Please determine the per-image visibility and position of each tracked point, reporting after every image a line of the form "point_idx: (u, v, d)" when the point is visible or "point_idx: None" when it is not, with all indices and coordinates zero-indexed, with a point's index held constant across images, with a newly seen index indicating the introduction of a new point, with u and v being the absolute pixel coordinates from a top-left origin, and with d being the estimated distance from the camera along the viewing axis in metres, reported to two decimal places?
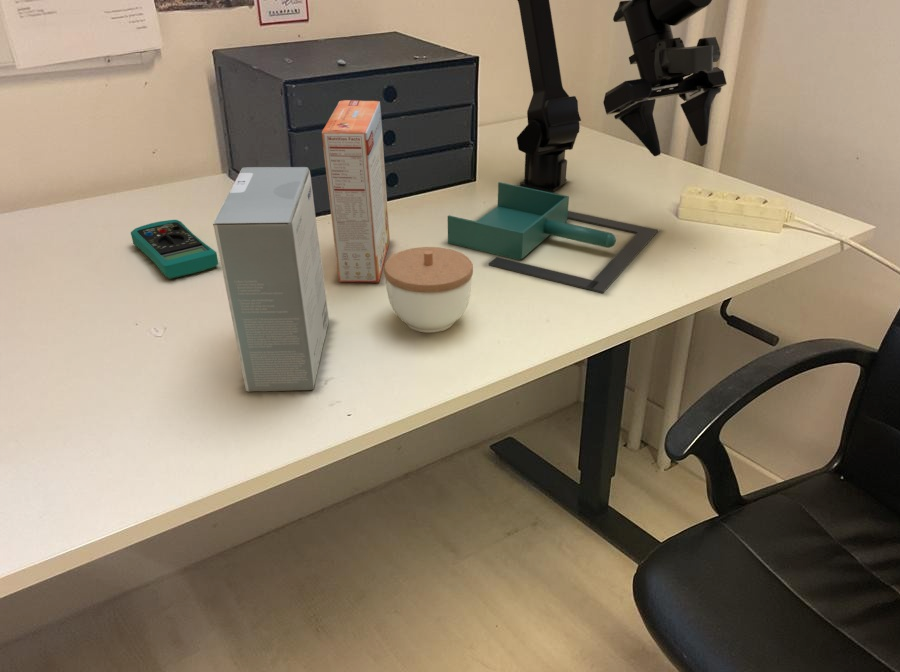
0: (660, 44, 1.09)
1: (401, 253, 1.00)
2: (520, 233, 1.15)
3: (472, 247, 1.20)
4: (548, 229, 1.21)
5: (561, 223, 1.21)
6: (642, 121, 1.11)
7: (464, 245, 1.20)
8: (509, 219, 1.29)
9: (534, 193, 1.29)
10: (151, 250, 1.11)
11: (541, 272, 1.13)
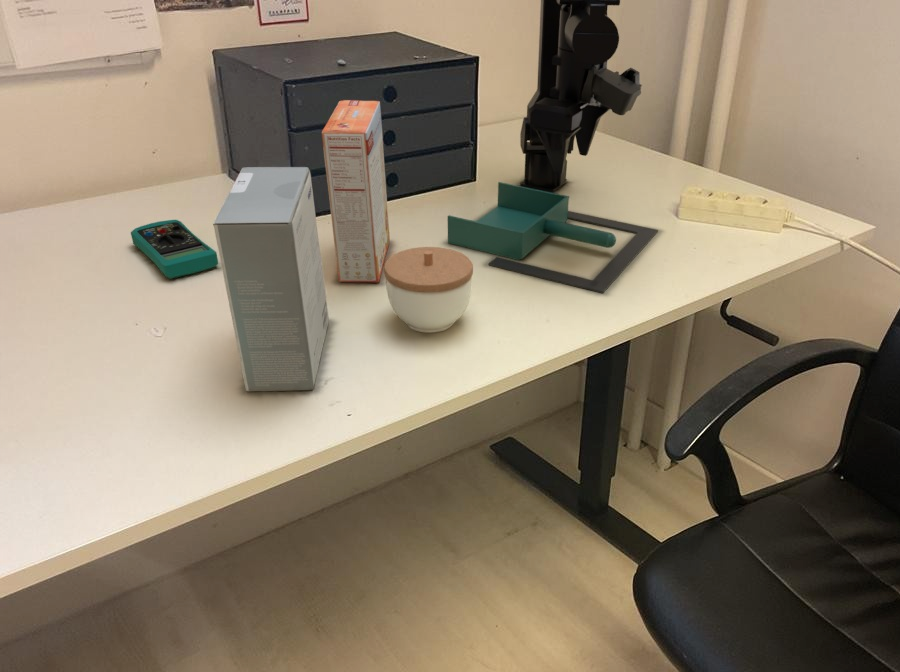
0: (595, 67, 1.05)
1: (401, 253, 1.00)
2: (520, 233, 1.15)
3: (472, 247, 1.20)
4: (548, 229, 1.21)
5: (561, 223, 1.21)
6: (558, 140, 1.08)
7: (464, 245, 1.20)
8: (509, 219, 1.29)
9: (534, 193, 1.29)
10: (151, 250, 1.11)
11: (541, 272, 1.13)
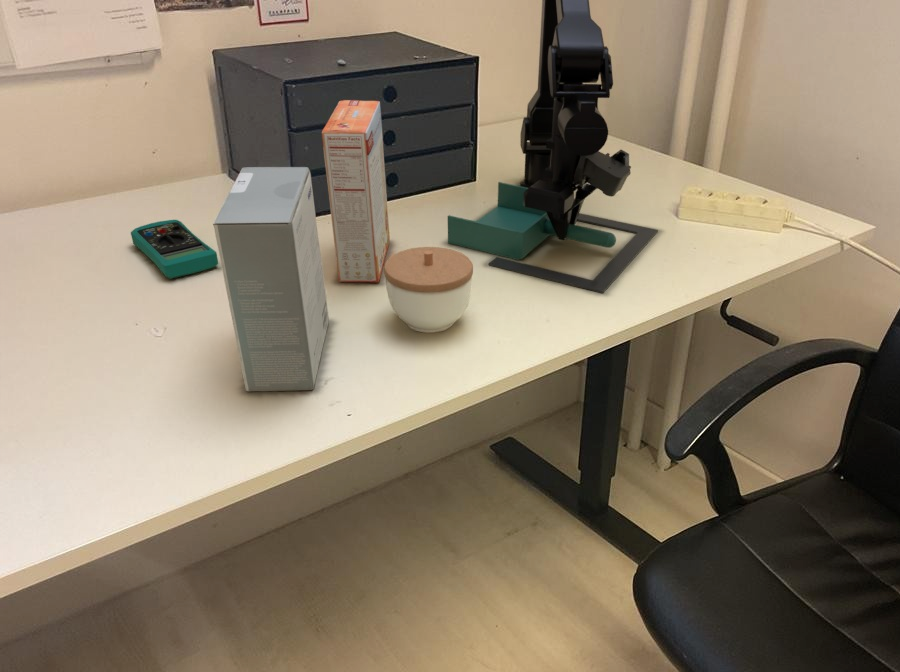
0: None
1: (401, 253, 1.00)
2: (520, 233, 1.15)
3: (472, 247, 1.20)
4: (548, 229, 1.21)
5: None
6: None
7: (464, 245, 1.20)
8: (509, 219, 1.29)
9: None
10: (151, 250, 1.11)
11: (541, 272, 1.13)
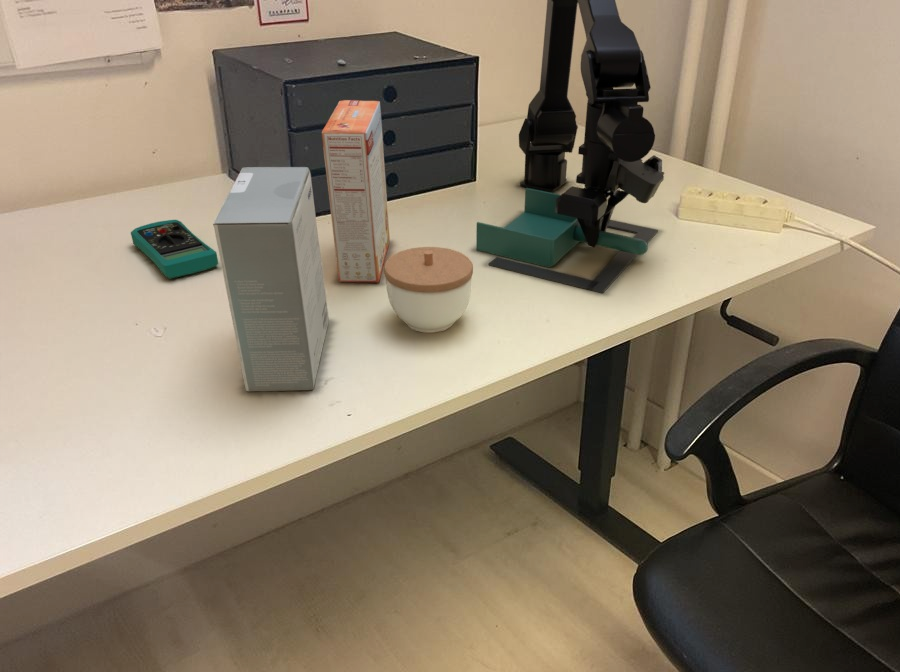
0: None
1: (401, 253, 1.00)
2: (551, 240, 1.13)
3: (501, 254, 1.18)
4: (578, 236, 1.19)
5: None
6: None
7: (493, 252, 1.19)
8: (537, 225, 1.27)
9: None
10: (151, 250, 1.11)
11: (541, 272, 1.13)
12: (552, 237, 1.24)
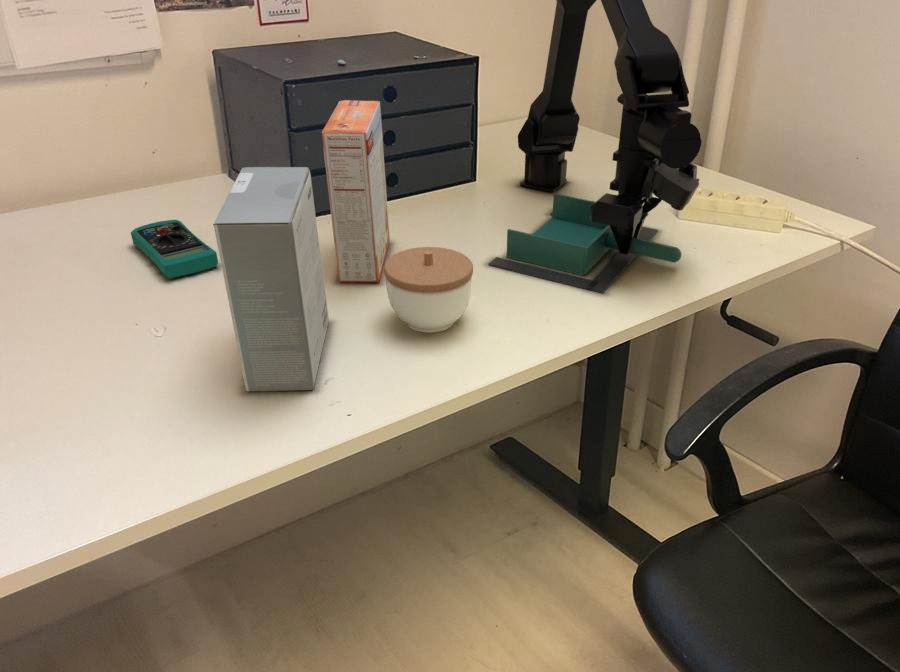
0: (656, 164, 1.08)
1: (401, 253, 1.00)
2: (585, 248, 1.11)
3: (532, 262, 1.16)
4: (610, 243, 1.17)
5: None
6: None
7: (524, 259, 1.17)
8: (566, 232, 1.25)
9: None
10: (151, 250, 1.11)
11: (541, 272, 1.13)
12: (582, 244, 1.22)
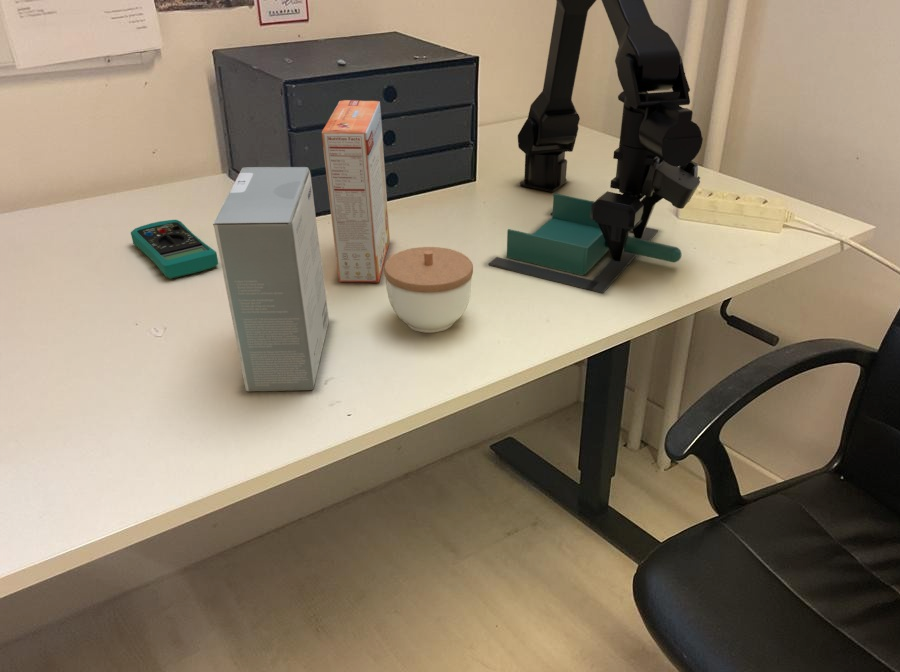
0: (657, 162, 1.08)
1: (401, 253, 1.00)
2: (585, 248, 1.11)
3: (532, 262, 1.16)
4: None
5: None
6: (618, 231, 1.11)
7: (524, 259, 1.17)
8: (566, 232, 1.25)
9: None
10: (151, 250, 1.11)
11: (541, 272, 1.13)
12: (582, 244, 1.22)
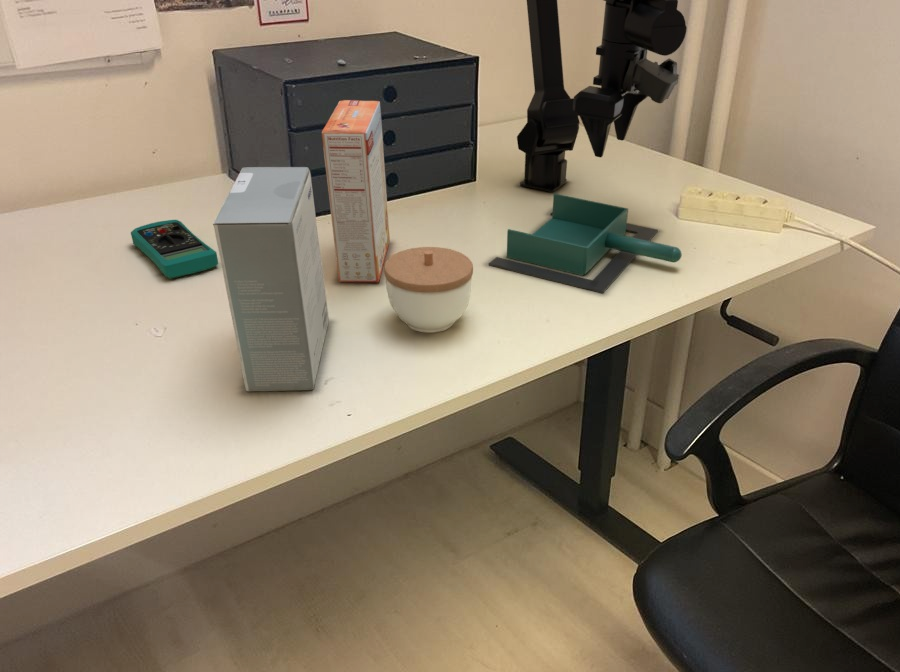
0: (637, 57, 1.13)
1: (401, 253, 1.00)
2: (585, 248, 1.11)
3: (532, 262, 1.16)
4: (610, 243, 1.17)
5: (624, 237, 1.17)
6: (599, 125, 1.16)
7: (524, 259, 1.17)
8: (566, 232, 1.25)
9: (591, 205, 1.26)
10: (151, 250, 1.11)
11: (541, 272, 1.13)
12: (582, 244, 1.22)
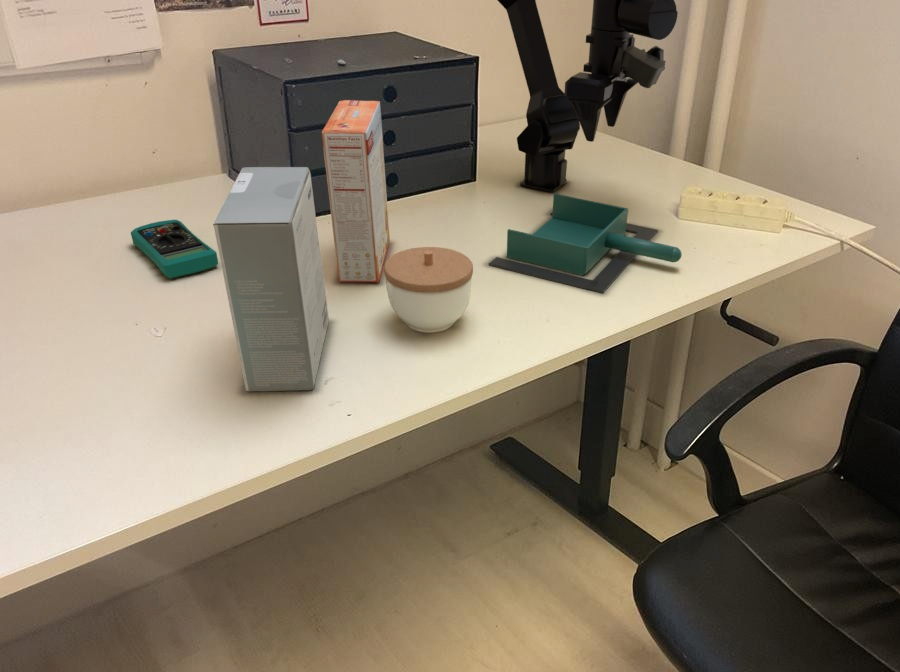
0: (625, 44, 1.18)
1: (401, 253, 1.00)
2: (585, 248, 1.11)
3: (532, 262, 1.16)
4: (610, 243, 1.17)
5: (624, 237, 1.17)
6: (590, 110, 1.21)
7: (524, 259, 1.17)
8: (566, 232, 1.25)
9: (591, 205, 1.26)
10: (151, 250, 1.11)
11: (541, 272, 1.13)
12: (582, 244, 1.22)
